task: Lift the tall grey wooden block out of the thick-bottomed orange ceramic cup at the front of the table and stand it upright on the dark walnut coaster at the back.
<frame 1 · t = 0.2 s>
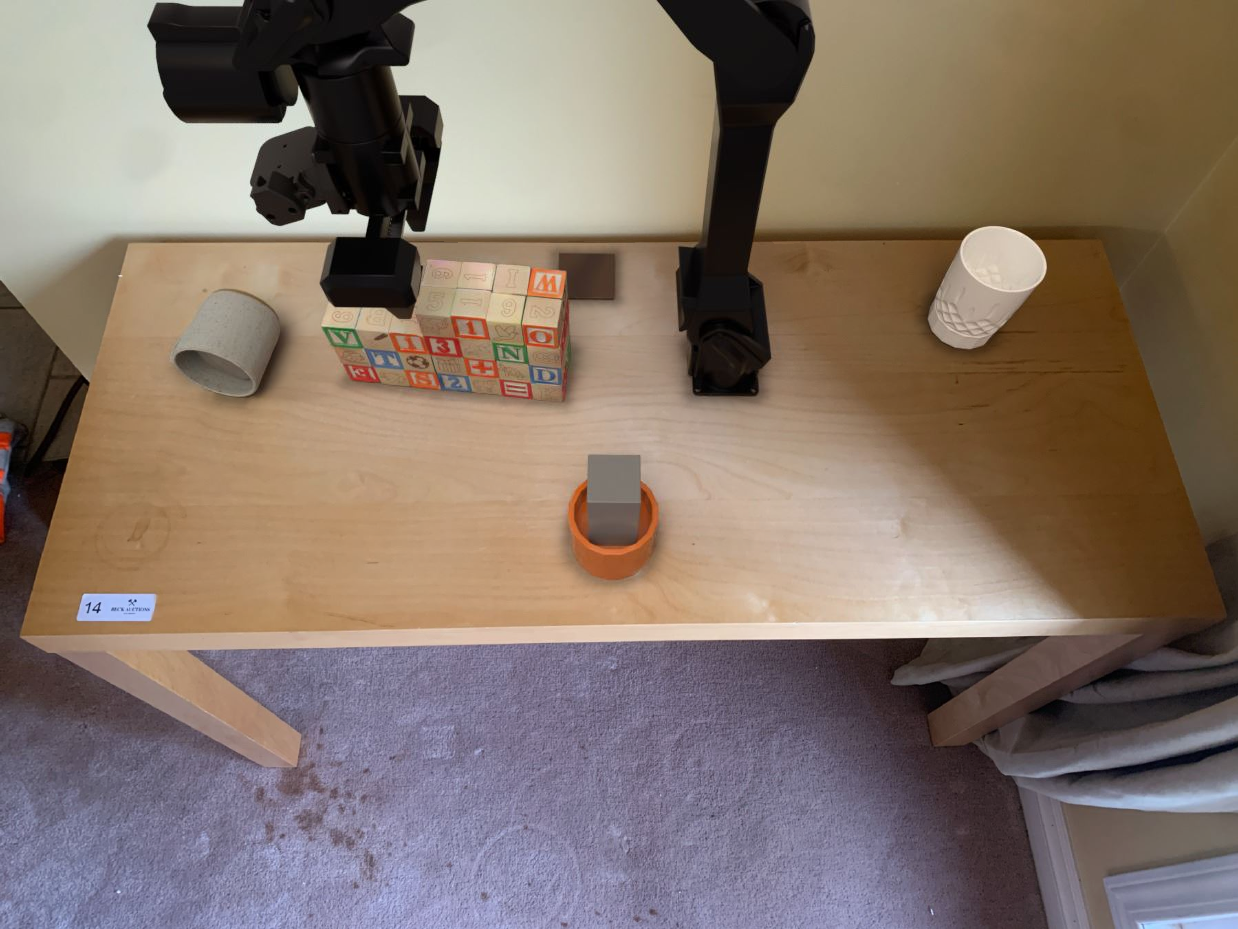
hand: (412, 272, 65), 15 cm above the table, tool pointing down, fingers open, 9 cm apart
block: (613, 523, 66), point 4 cm above the table, touching cup
stack of blocks: (463, 367, 78), on the table
white cup: (958, 324, 81), on the table
ceramic mug: (233, 365, 78), on the table
cup: (612, 540, 70), on the table, touching block
coaster: (586, 277, 83), on the table
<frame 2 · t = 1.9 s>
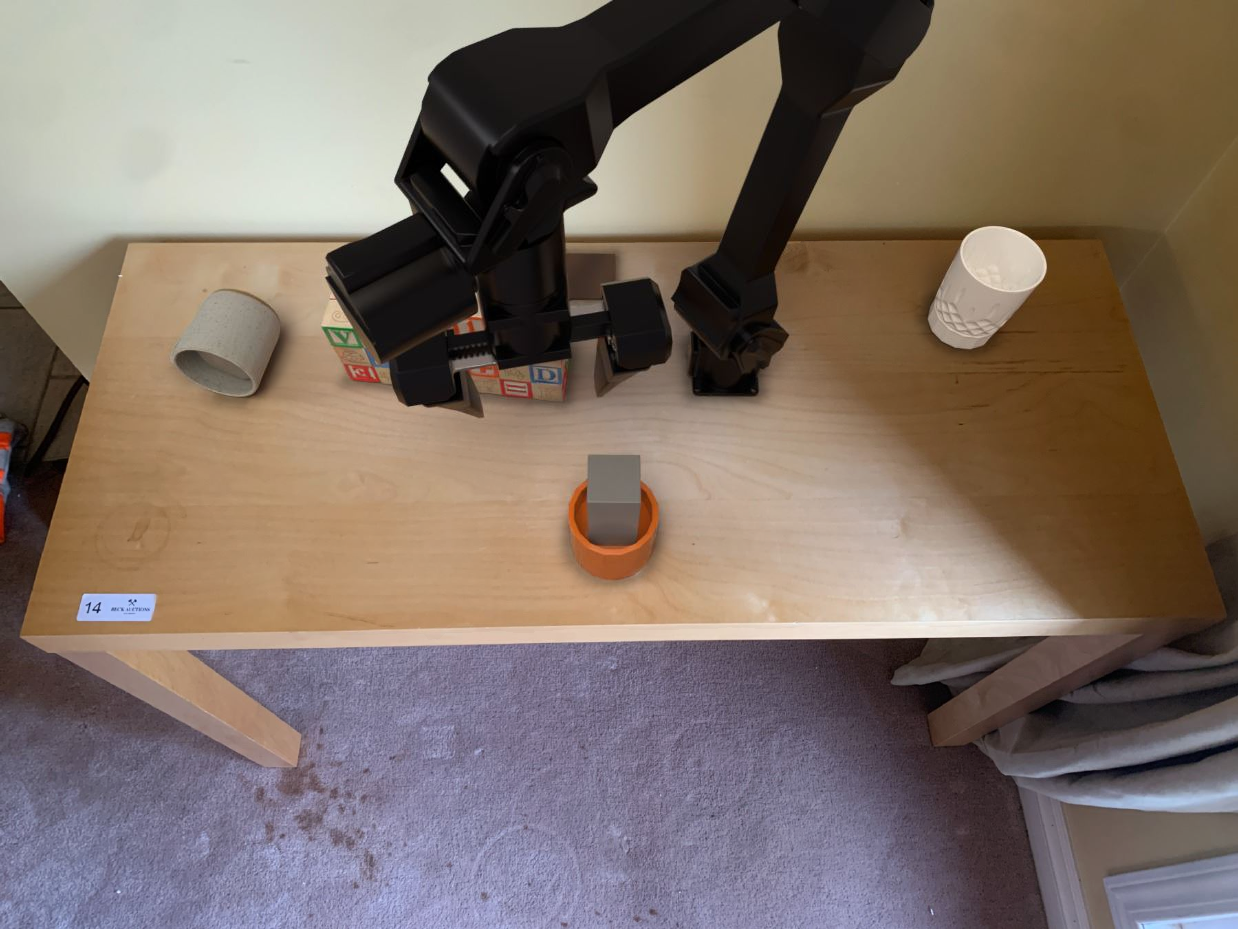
hand: (539, 402, 61), 14 cm above the table, tool pointing down, fingers open, 9 cm apart
nothing on the table moved.
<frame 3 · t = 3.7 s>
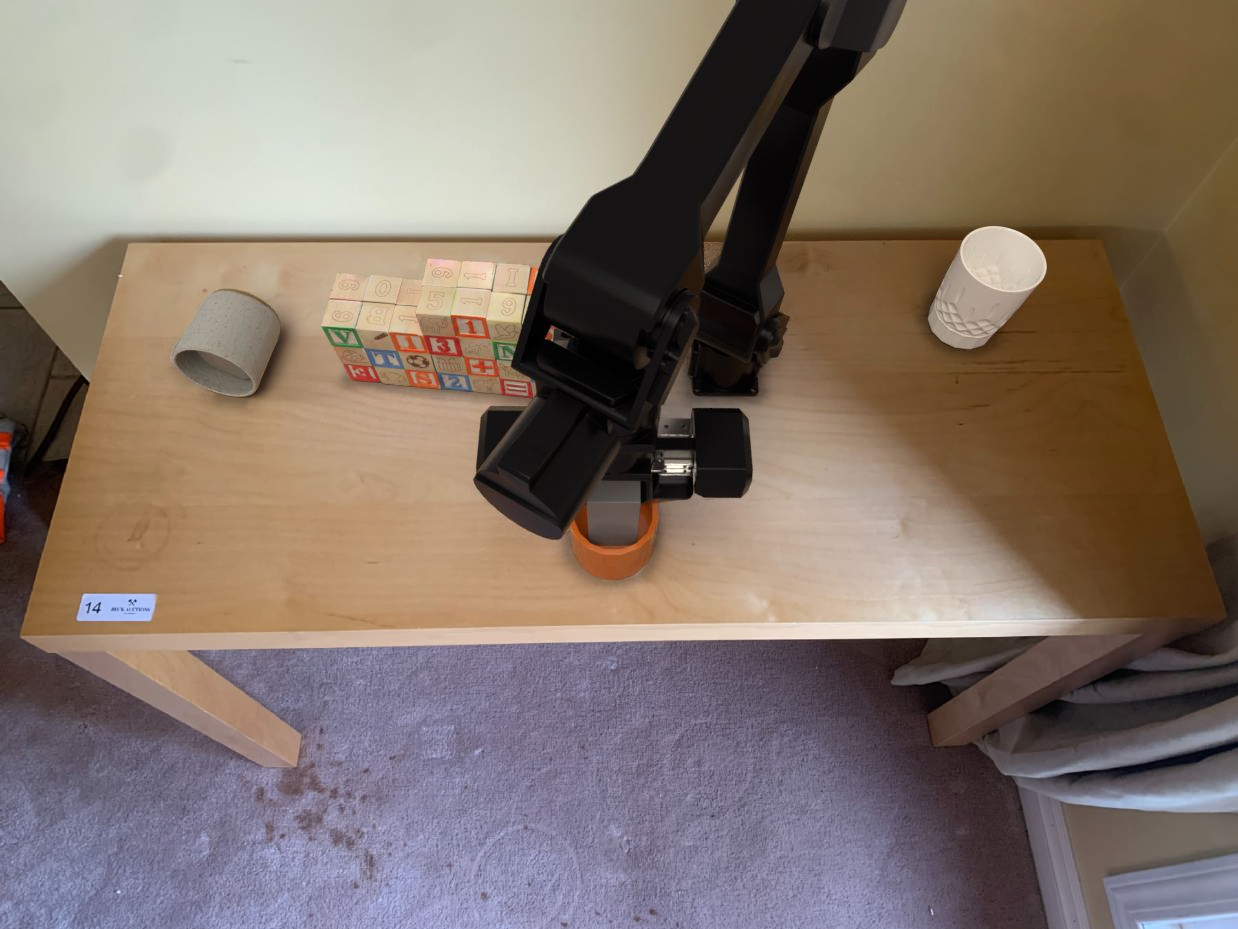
hand: (613, 499, 62), 9 cm above the table, tool pointing down, fingers closed on block, 4 cm apart
block: (613, 523, 66), point 4 cm above the table, touching cup, gripper
everything else where it was.
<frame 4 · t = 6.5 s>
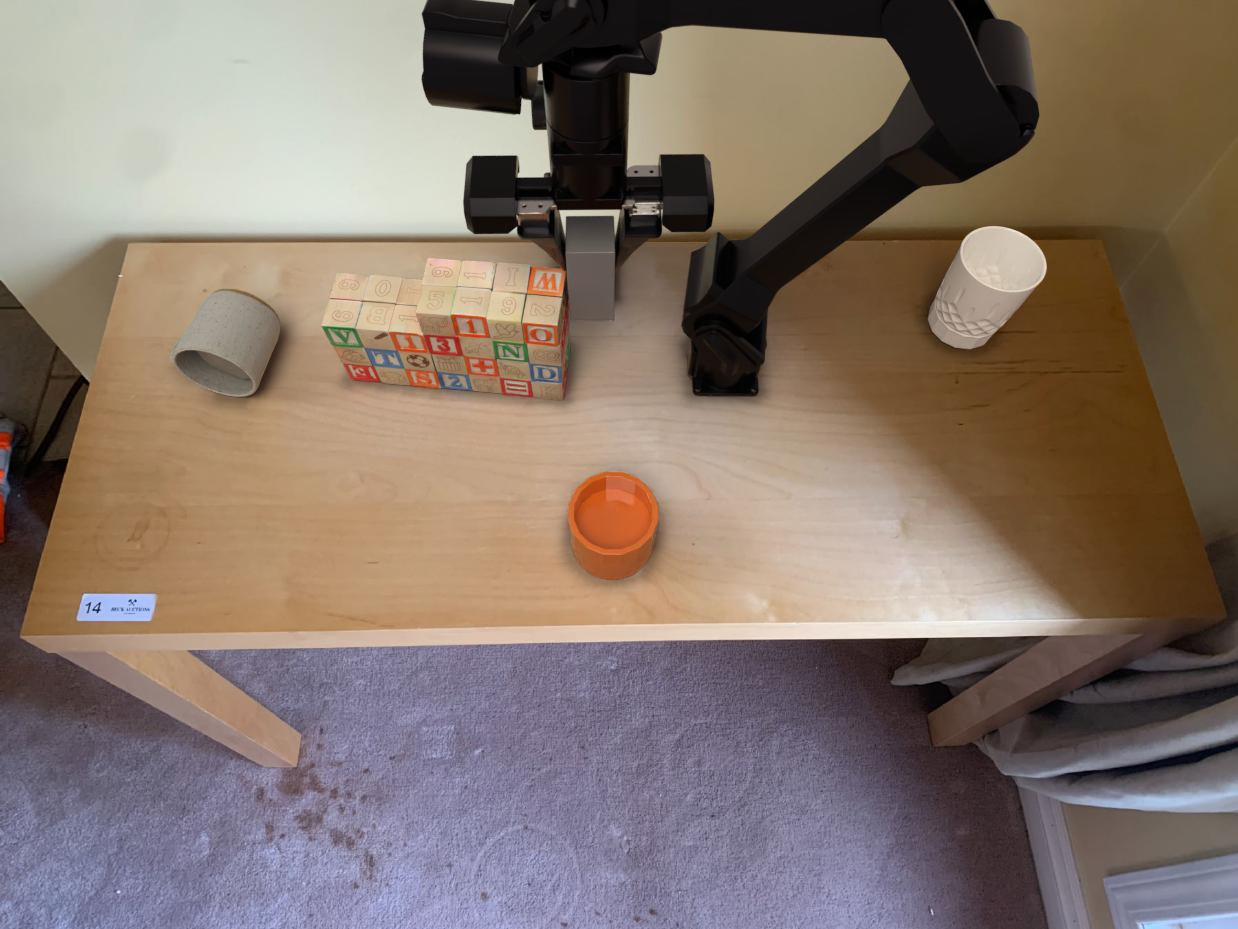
hand: (591, 266, 67), 13 cm above the table, tool pointing down, fingers closed on block, 4 cm apart
block: (591, 303, 72), point 8 cm above the table, touching gripper
cup: (612, 540, 70), on the table
everything else where it was.
when the fingers open (5 cm above the table, at t = 9.4 s): block stays where it is, resting on coaster.
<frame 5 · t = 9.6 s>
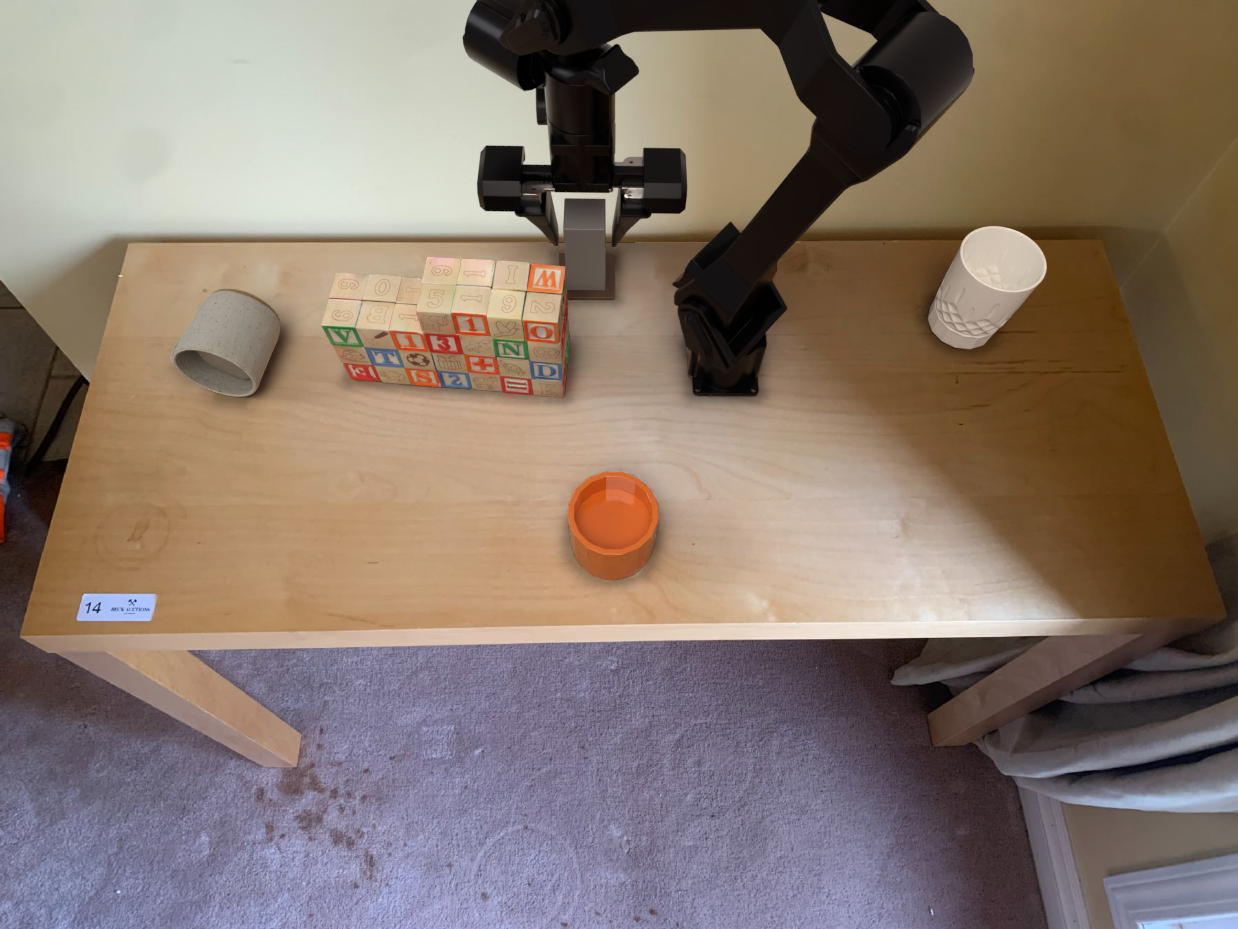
hand: (585, 243, 79), 5 cm above the table, tool pointing down, fingers open, 5 cm apart
block: (586, 275, 83), resting on coaster
everything else where it was.
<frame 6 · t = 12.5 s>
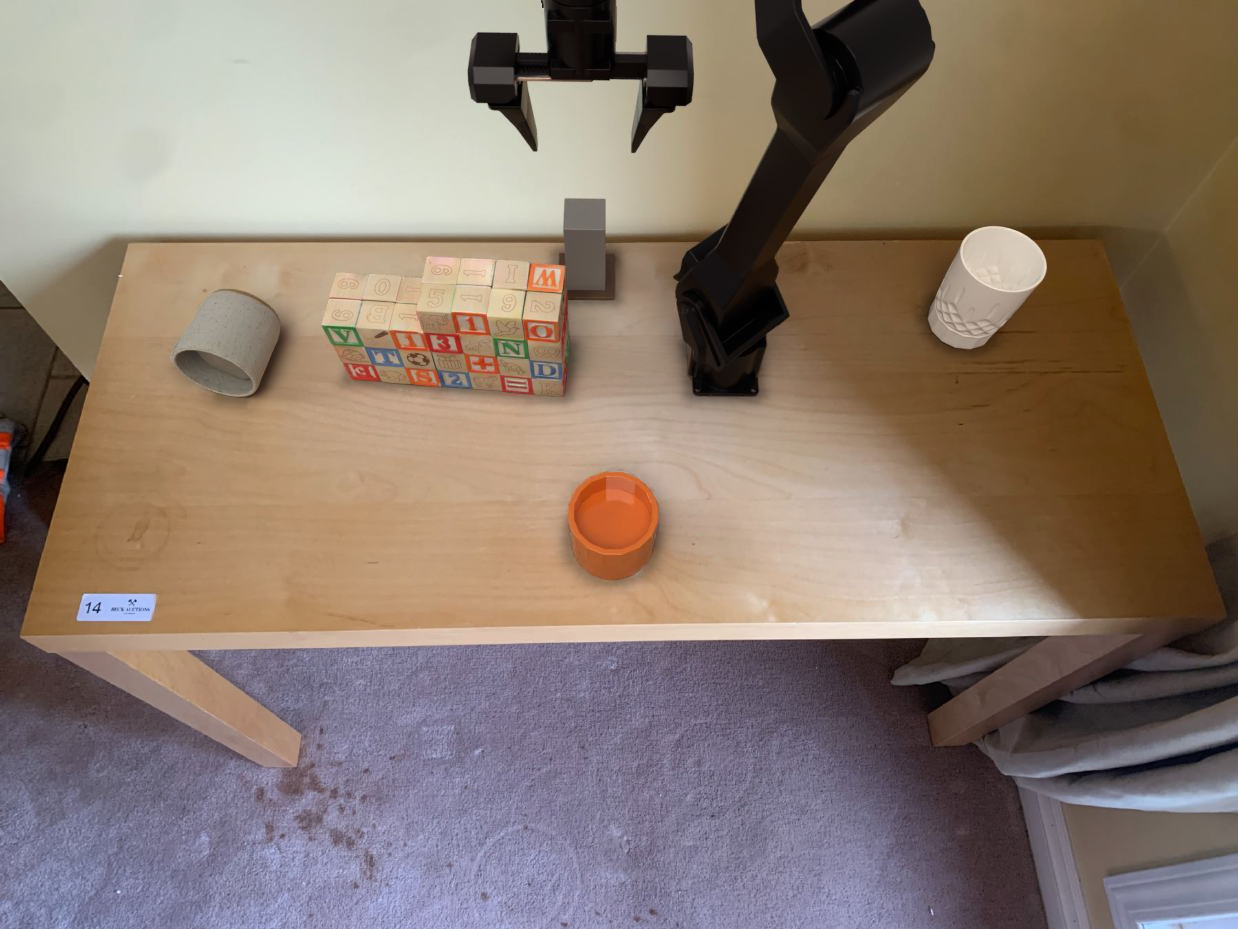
hand: (584, 149, 74), 13 cm above the table, tool pointing down, fingers open, 9 cm apart
nothing on the table moved.
at the end: block 0.1 cm off-centre on the coaster, point 0.4 cm above the coaster's base; block tilted 0°; cup moved 0.0 cm from its start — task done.
